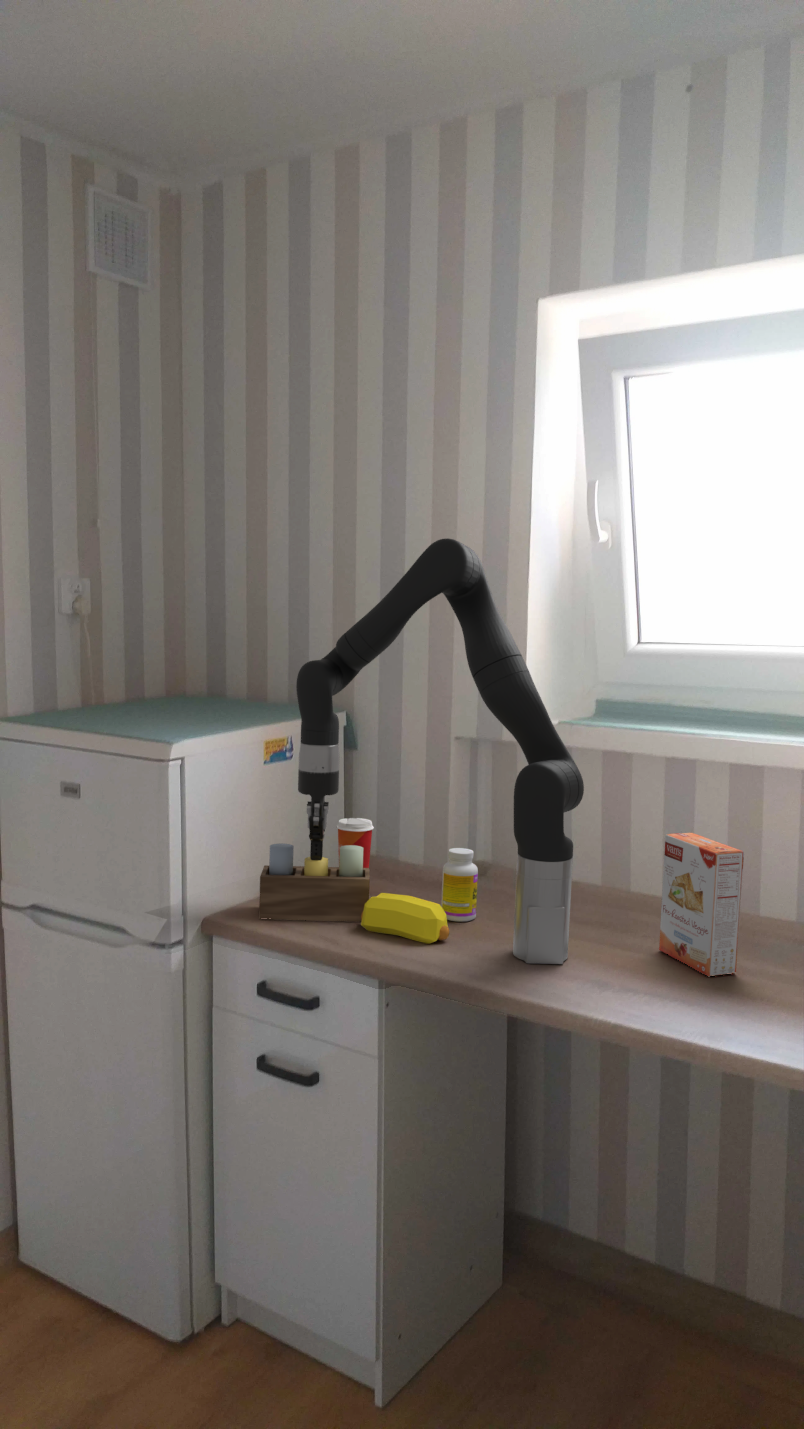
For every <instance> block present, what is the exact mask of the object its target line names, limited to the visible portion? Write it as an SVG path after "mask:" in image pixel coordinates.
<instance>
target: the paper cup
mask: <svg viewBox="0 0 804 1429" xmlns="http://www.w3.org/2000/svg"><path fill="white" fill-rule="evenodd" d="M337 822H338V823H337V824H336V828H337V843H338V844H337V845H338V846H337V847H338V849H337V850H338V851H337V852H338V859H339V858H340V847H341V846H346V845H355V846H361V847H363V868H369V869H370V859H371V848H372V837H373V830H374V829H375V826H374V825H373V821H372V819H368V818H361V817H356V818H355V817H349V818H347V817H346V818H341V819H339V820H338V821H337Z"/></svg>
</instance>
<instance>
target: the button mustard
mask: <svg viewBox="0 0 804 1429" xmlns="http://www.w3.org/2000/svg"><path fill="white" fill-rule="evenodd" d="M303 864H304V865H303V866H304V876H328V867H329V858H327V857H324V856H322V860H311V859H310V856H308V857H305V858H304V862H303Z"/></svg>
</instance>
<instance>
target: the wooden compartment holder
mask: <svg viewBox="0 0 804 1429" xmlns="http://www.w3.org/2000/svg"><path fill="white" fill-rule="evenodd" d="M370 877H371V876H370V867H369V868H363V877H339V866H337V867H336V866H328V876H304V865H302V866H301V865H298V866H297V865H293V875H269V865H264V866H263V868H262V871H261V873H260V875H259V905H258V906H259V910H258V912H259V913H258V914H259V915H258V919H259V920H262V919H261V918H267V919H269V918H271V919H288V920H287V921H305V920H306V921H308V922H309V921H311V922H312V921H313V922H315V921H316V922H317V921H318V922H319V921H320V922H348V923H349V922H354V923H355V922H357V923H358V922H359V923H361V921H362V920H361V914H362V912H363V910H364V905H365V903H366V902H367V901H368V900H369V899H370Z"/></svg>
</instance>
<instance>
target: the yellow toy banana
mask: <svg viewBox="0 0 804 1429" xmlns="http://www.w3.org/2000/svg"><path fill="white" fill-rule="evenodd" d="M361 920H362V921H361V922H360V925H361V927H362V928H364V929H365V930H366V931H368V932H373V933H374V932H375V933H378V934H379V933H380V934H386V935H394V936H400V937H403V938H406V939H408V940H413V941H415V942H419V943H423V944H432V943H434V942H437V941H445V940H448V938H449V936H450V928H449V926H448V920H447V916H446V913H445V912H444V910H443V908H442V907H441V904H440V903H436V902H434V901H430V900H426V899H423V898H420V897H417V896H416V897H415V896H412V895H407V894H399V893H398V894H397V893H389V892H380V893H379V894H378V895H377V896H376V895H375V896H371V897H369V900H368V901H367V902H366V903H365V905H364V910H363V912H362V914H361Z"/></svg>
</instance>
